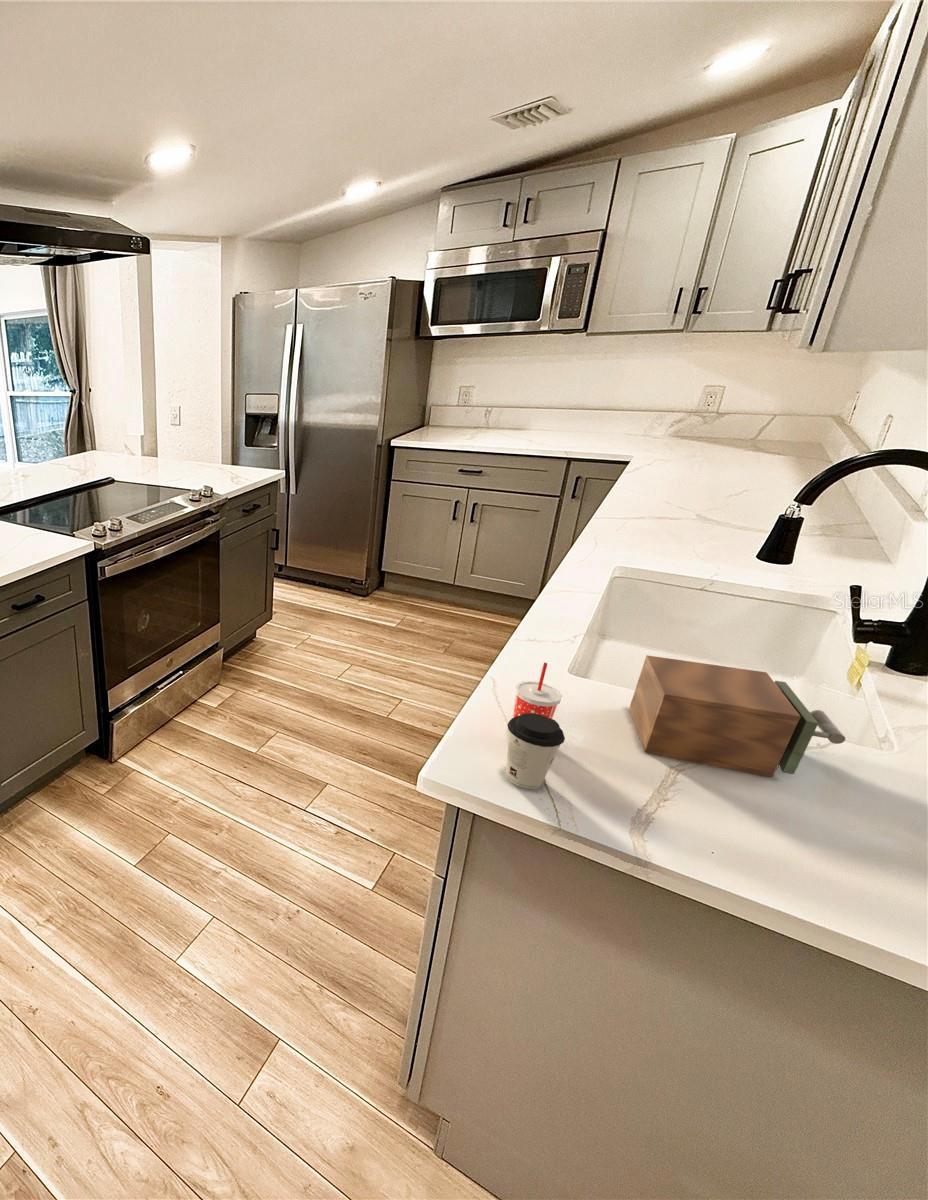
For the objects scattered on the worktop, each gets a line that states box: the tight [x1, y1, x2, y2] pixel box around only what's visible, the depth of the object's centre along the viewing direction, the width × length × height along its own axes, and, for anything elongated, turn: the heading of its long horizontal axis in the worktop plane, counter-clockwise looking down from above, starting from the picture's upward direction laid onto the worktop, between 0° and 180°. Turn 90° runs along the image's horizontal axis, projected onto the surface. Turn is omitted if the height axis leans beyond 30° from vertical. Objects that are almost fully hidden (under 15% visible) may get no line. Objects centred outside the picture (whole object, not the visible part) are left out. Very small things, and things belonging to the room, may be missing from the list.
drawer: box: [774, 680, 846, 775], centre depth 91 cm, size 18×11×9 cm, turn 62°
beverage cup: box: [512, 662, 563, 719], centre depth 96 cm, size 6×6×14 cm
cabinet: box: [628, 655, 800, 778], centre depth 94 cm, size 15×13×11 cm
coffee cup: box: [505, 713, 566, 790], centre depth 89 cm, size 7×7×10 cm
